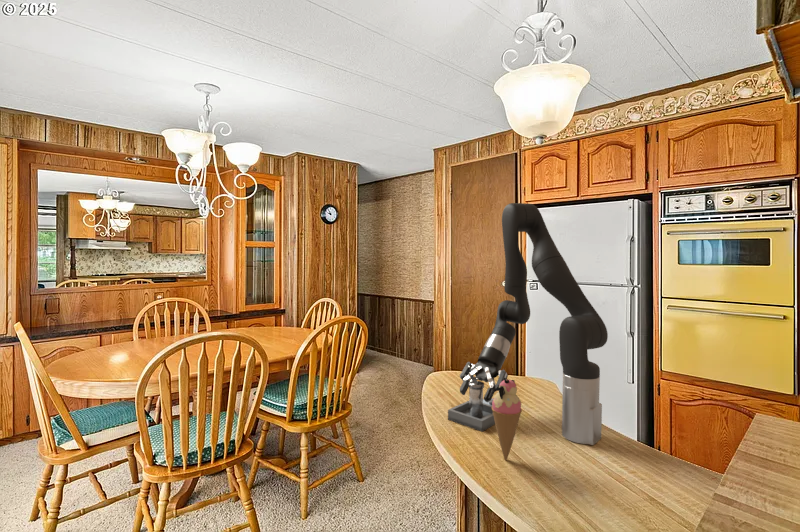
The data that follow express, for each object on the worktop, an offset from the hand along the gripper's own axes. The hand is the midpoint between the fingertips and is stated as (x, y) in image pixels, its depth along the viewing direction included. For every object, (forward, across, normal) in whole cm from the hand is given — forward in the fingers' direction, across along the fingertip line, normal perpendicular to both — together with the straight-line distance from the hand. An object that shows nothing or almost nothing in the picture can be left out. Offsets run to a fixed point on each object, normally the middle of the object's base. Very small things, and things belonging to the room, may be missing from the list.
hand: (473, 397), depth 126 cm
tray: (+4, 0, +6) cm, 7 cm away
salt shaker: (+3, 0, +5) cm, 6 cm away
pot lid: (-4, -1, +14) cm, 14 cm away
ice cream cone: (+15, +19, -4) cm, 25 cm away
